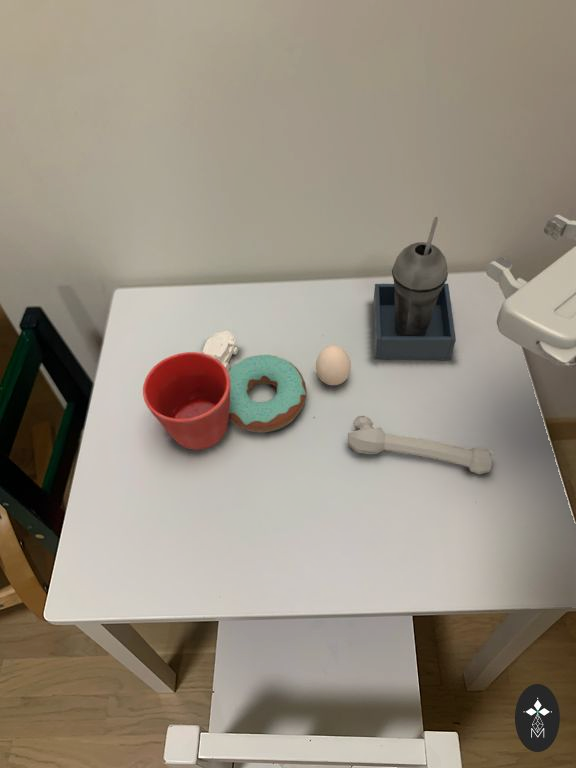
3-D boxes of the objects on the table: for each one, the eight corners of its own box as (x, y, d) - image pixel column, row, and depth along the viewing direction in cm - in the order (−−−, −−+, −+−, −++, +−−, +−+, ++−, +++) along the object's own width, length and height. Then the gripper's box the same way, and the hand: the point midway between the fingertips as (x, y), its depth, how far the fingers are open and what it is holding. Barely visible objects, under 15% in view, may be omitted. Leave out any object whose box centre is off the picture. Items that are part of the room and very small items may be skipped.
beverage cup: (376, 322, 89) (385, 214, 73) (416, 304, 91) (435, 194, 74) (403, 355, 85) (420, 249, 69) (445, 335, 87) (471, 227, 70)
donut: (205, 394, 84) (200, 377, 81) (274, 353, 88) (272, 335, 84) (251, 453, 78) (248, 438, 75) (324, 406, 82) (323, 390, 78)
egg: (316, 394, 83) (315, 365, 77) (315, 366, 86) (314, 336, 80) (351, 392, 83) (352, 363, 77) (349, 365, 85) (350, 335, 80)
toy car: (192, 377, 86) (186, 359, 83) (213, 336, 90) (209, 317, 87) (223, 384, 85) (218, 367, 82) (243, 342, 89) (239, 324, 86)
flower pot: (197, 380, 86) (183, 337, 78) (255, 418, 81) (247, 377, 73) (144, 432, 81) (124, 391, 73) (203, 475, 77) (188, 437, 69)
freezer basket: (443, 304, 91) (448, 283, 87) (450, 360, 85) (455, 339, 81) (373, 304, 92) (374, 283, 88) (375, 359, 86) (376, 339, 82)
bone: (343, 454, 77) (343, 440, 74) (354, 421, 80) (354, 406, 77) (484, 493, 73) (491, 479, 70) (490, 457, 76) (497, 443, 73)
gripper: (563, 395, 55) (449, 313, 62) (684, 286, 62) (570, 223, 68) (586, 353, 50) (459, 268, 57) (716, 239, 57) (589, 176, 63)
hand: (521, 243), depth 62 cm, fingers open, 8 cm apart
